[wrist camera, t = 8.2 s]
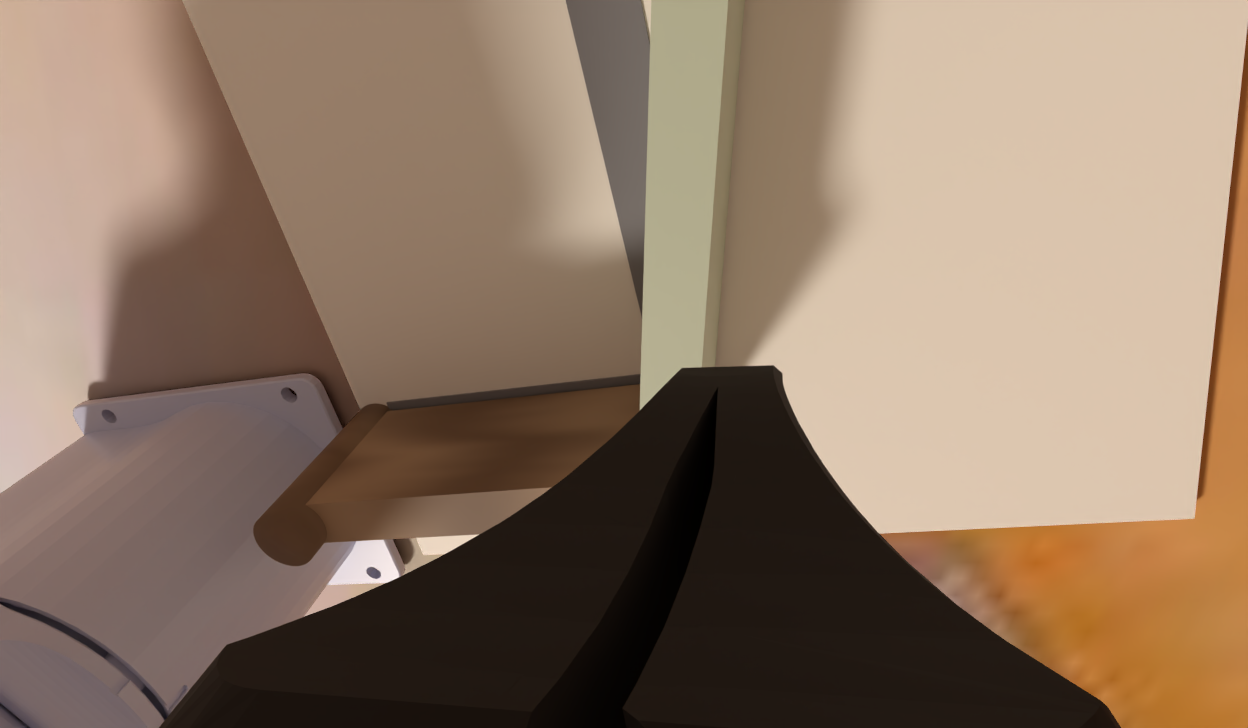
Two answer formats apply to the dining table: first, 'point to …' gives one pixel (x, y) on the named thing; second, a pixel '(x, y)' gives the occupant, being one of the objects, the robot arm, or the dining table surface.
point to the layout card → (783, 223)
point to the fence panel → (687, 182)
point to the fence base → (439, 469)
